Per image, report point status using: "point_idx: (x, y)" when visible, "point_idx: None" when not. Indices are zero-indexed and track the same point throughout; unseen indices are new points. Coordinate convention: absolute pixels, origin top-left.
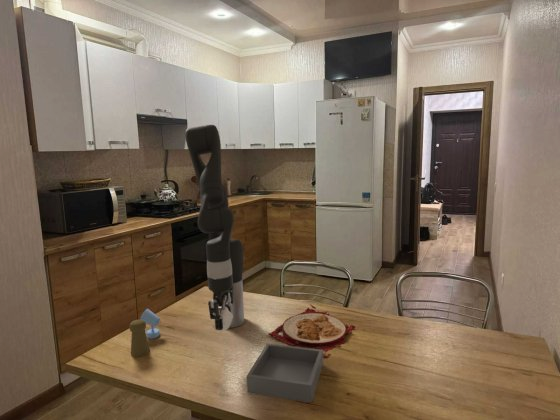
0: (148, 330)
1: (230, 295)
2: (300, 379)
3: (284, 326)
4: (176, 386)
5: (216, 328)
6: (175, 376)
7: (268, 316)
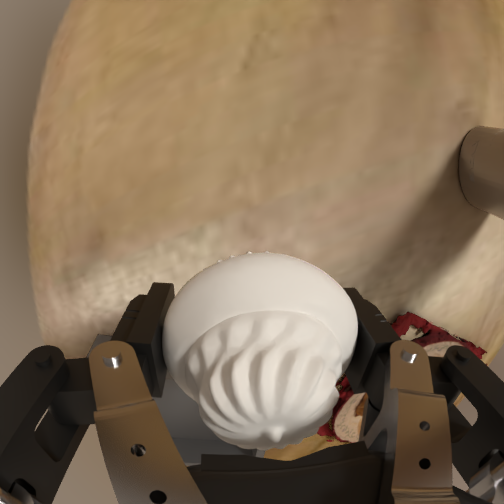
0: None
1: (460, 453)
2: (179, 424)
3: (426, 347)
4: (60, 115)
5: (138, 301)
6: (107, 75)
7: (491, 270)
